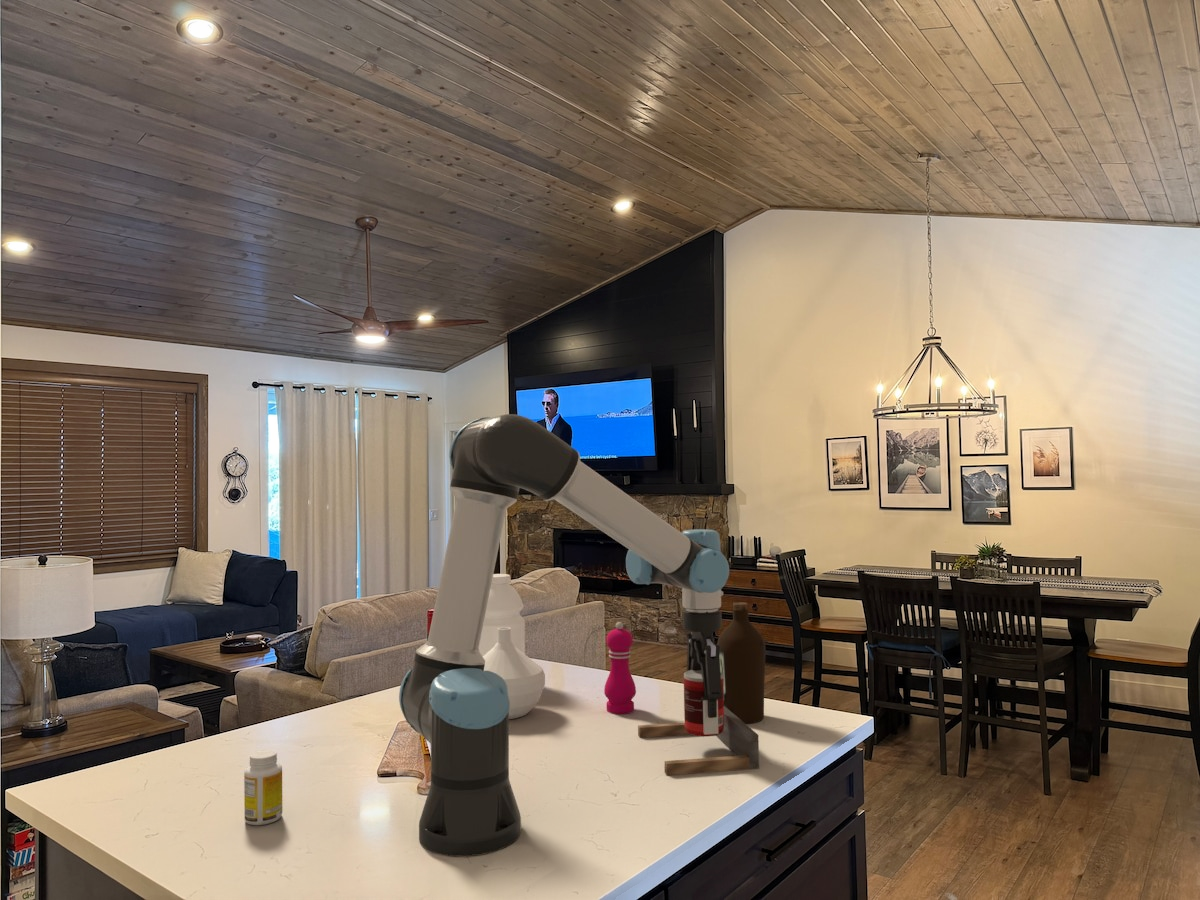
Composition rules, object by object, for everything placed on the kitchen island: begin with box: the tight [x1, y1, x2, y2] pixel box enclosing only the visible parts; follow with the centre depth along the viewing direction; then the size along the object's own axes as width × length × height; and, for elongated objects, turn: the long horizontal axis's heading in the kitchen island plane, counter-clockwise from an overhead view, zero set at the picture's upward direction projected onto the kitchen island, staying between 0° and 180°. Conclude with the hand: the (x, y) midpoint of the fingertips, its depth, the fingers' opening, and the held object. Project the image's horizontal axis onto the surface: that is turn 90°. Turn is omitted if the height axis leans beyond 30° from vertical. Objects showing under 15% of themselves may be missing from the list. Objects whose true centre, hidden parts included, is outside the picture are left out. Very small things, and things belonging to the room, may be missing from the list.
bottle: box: [479, 573, 526, 657], centre depth 213 cm, size 14×14×28 cm
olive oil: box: [716, 601, 767, 724], centre depth 183 cm, size 11×11×25 cm
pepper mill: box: [603, 621, 637, 715], centre depth 189 cm, size 7×7×20 cm
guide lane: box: [637, 706, 760, 776], centre depth 161 cm, size 17×23×6 cm
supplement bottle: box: [243, 749, 283, 826], centre depth 131 cm, size 6×6×10 cm
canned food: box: [683, 670, 724, 737], centre depth 162 cm, size 8×8×11 cm
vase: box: [483, 627, 546, 720], centre depth 188 cm, size 18×18×19 cm
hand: (704, 726), depth 161 cm, fingers closed on canned food, 8 cm apart
